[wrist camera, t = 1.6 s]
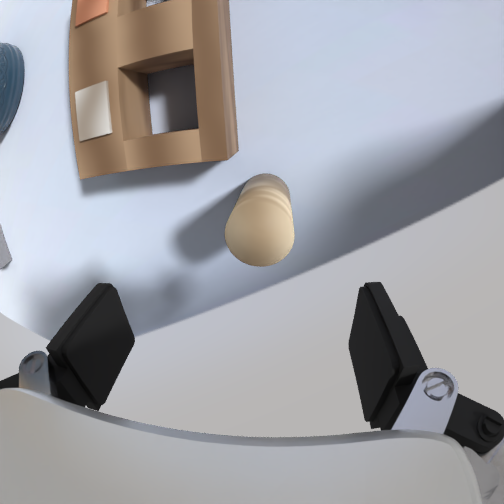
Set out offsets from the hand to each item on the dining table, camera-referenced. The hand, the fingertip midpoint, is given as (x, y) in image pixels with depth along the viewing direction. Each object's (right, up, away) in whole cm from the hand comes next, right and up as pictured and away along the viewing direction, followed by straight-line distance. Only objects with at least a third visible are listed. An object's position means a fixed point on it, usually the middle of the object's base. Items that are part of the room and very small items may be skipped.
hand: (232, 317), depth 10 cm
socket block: (-7, +19, +8) cm, 22 cm away
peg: (+2, +7, +13) cm, 15 cm away
